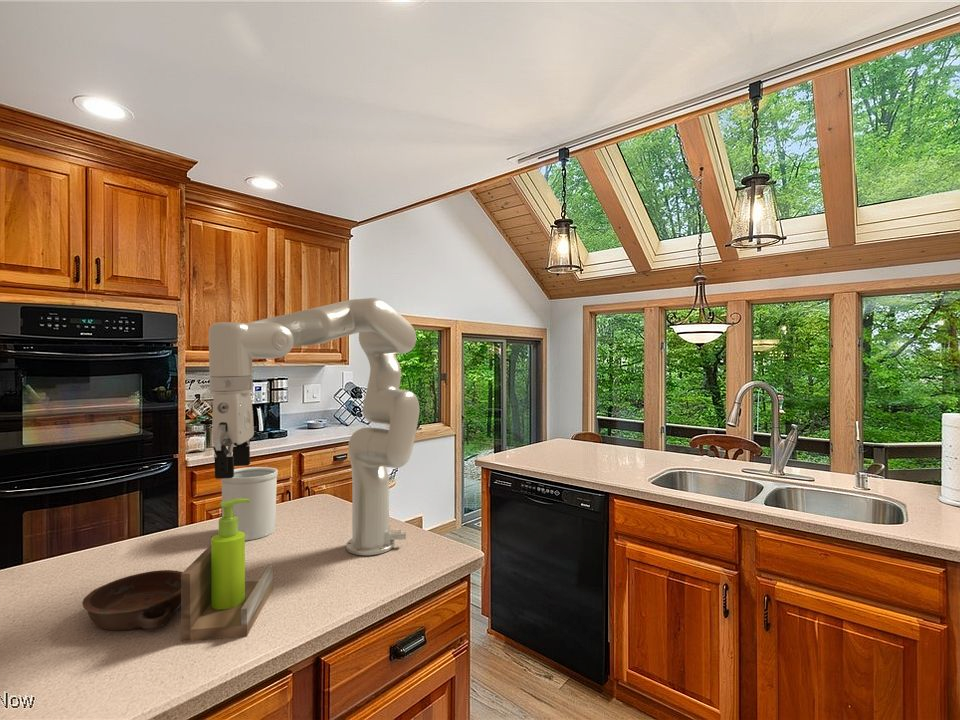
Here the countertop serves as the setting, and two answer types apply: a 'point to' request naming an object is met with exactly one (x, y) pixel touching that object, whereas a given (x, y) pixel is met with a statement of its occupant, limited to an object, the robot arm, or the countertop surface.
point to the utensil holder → (253, 499)
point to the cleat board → (215, 623)
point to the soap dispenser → (228, 560)
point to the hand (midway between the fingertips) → (233, 471)
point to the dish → (135, 601)
